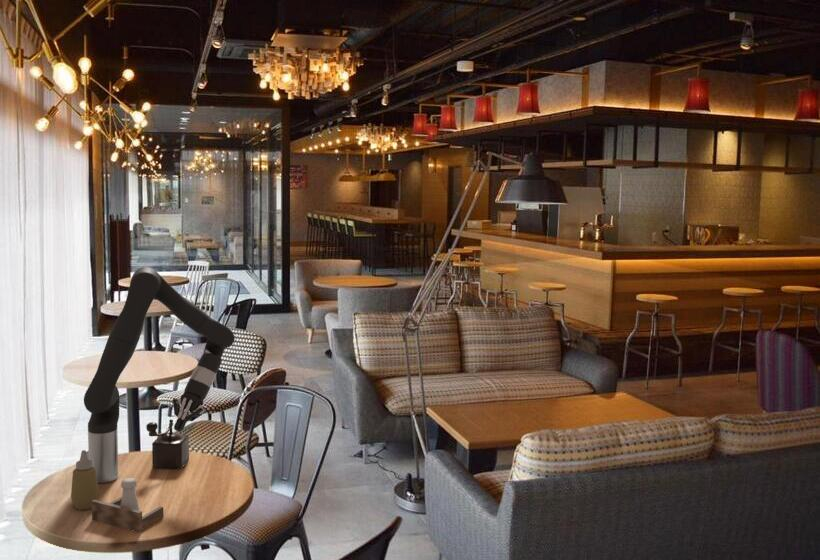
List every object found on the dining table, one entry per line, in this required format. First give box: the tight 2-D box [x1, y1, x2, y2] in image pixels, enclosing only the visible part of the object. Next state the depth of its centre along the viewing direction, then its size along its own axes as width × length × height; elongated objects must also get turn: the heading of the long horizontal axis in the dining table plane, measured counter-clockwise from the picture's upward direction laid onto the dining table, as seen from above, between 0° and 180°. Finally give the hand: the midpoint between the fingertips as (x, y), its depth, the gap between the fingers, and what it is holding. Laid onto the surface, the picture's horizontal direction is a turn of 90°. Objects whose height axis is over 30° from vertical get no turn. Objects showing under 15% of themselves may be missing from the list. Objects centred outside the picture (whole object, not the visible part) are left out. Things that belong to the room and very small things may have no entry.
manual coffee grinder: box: [145, 419, 190, 470], centre depth 265 cm, size 16×11×18 cm
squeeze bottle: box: [70, 449, 100, 511], centre depth 231 cm, size 8×8×18 cm
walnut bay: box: [91, 496, 164, 533], centre depth 225 cm, size 18×11×6 cm, turn 68°
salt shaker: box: [120, 477, 140, 511], centre depth 223 cm, size 6×6×13 cm
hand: (177, 430), depth 245 cm, fingers closed
